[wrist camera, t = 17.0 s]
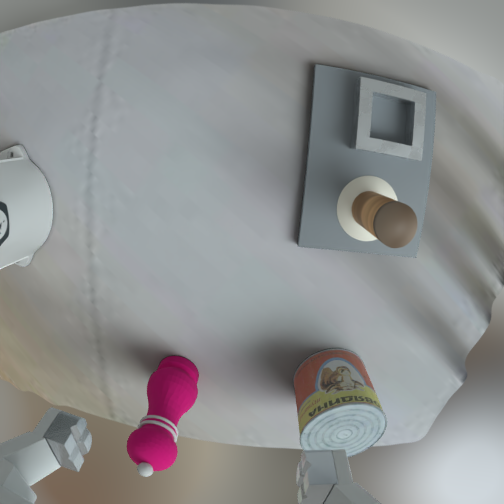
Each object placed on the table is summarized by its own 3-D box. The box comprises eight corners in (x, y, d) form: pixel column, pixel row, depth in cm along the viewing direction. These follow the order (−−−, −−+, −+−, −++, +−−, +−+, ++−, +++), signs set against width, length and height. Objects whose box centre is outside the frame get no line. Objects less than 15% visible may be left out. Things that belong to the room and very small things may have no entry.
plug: (349, 225, 37) (373, 246, 29) (353, 189, 36) (379, 200, 27) (382, 228, 37) (413, 249, 29) (387, 193, 36) (420, 205, 27)
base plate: (297, 244, 40) (298, 247, 38) (314, 66, 33) (315, 63, 32) (412, 255, 40) (416, 258, 38) (431, 93, 33) (436, 92, 32)
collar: (350, 148, 35) (355, 148, 32) (354, 80, 32) (360, 76, 30) (413, 160, 35) (421, 161, 32) (417, 95, 32) (426, 93, 30)
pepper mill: (147, 366, 46) (100, 463, 27) (178, 344, 44) (136, 449, 25) (179, 395, 48) (149, 495, 28) (211, 376, 46) (189, 484, 27)
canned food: (368, 343, 44) (394, 396, 32) (361, 398, 47) (379, 451, 36) (292, 352, 44) (300, 410, 33) (293, 407, 48) (299, 463, 36)
